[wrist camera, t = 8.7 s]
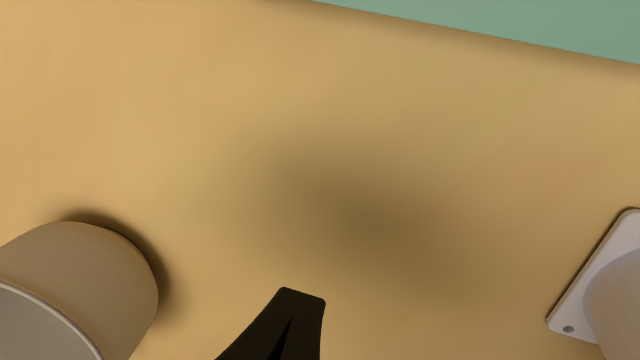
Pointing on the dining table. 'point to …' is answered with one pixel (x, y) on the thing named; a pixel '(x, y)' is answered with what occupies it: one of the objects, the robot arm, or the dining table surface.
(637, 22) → the lid
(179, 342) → the dining table surface
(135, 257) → the teacup
